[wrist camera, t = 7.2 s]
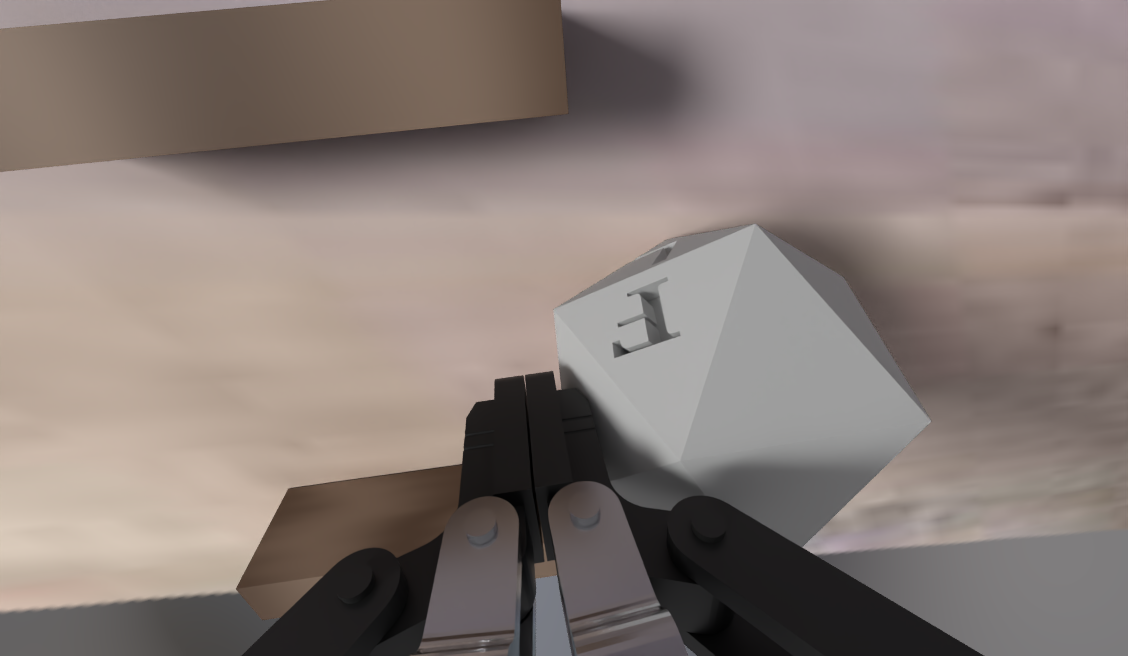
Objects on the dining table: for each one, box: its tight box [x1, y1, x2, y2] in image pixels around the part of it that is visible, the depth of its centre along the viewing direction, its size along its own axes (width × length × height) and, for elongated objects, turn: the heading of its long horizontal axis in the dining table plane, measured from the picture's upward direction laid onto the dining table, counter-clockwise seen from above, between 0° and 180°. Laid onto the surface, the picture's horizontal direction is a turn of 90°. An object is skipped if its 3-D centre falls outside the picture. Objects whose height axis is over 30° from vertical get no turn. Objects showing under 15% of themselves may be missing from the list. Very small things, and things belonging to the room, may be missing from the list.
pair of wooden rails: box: [0, 0, 568, 620], centre depth 13 cm, size 12×17×4 cm
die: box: [553, 224, 931, 547], centre depth 12 cm, size 8×9×10 cm
